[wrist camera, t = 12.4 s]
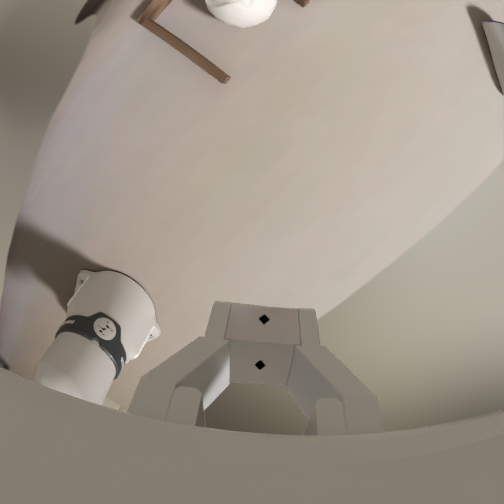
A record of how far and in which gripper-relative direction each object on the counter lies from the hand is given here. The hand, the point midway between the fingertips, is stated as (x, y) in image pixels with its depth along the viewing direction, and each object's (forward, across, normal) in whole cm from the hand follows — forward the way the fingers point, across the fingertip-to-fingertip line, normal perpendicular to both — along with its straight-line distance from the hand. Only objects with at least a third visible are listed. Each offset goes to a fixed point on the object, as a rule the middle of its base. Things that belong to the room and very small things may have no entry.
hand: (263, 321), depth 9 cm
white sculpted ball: (+32, +4, -18) cm, 37 cm away
